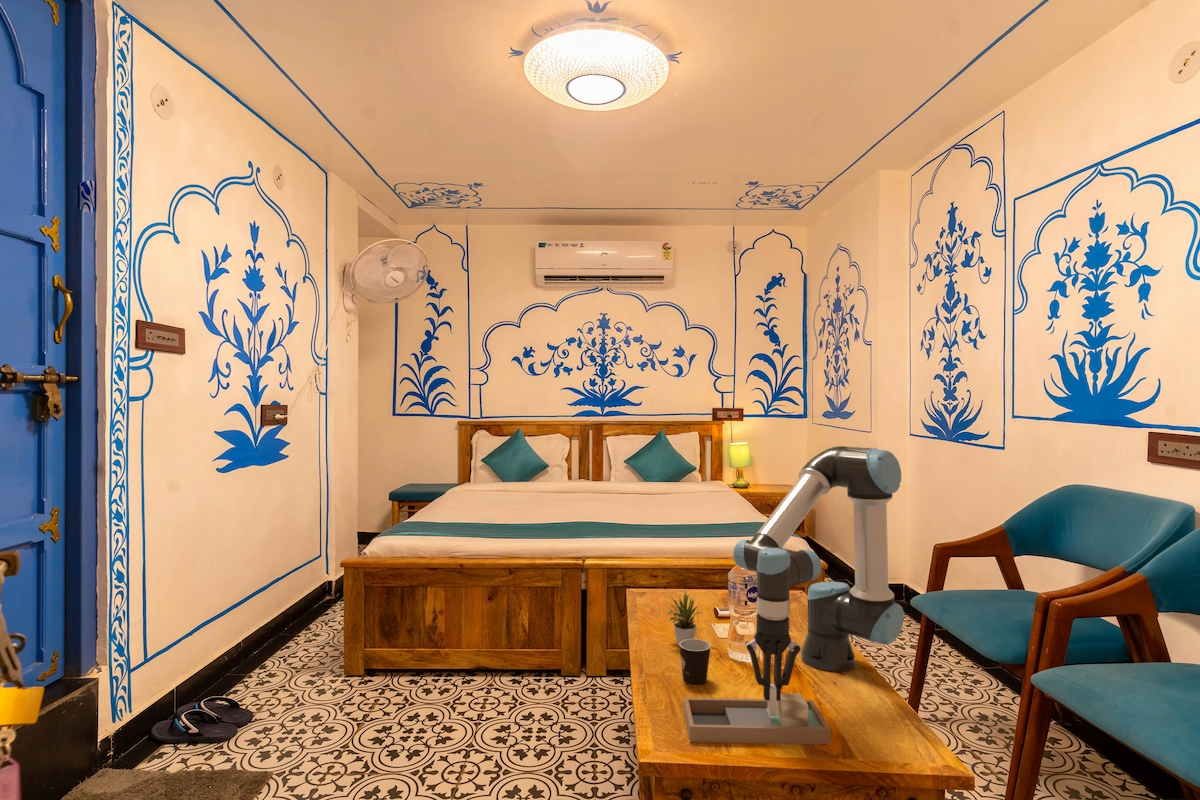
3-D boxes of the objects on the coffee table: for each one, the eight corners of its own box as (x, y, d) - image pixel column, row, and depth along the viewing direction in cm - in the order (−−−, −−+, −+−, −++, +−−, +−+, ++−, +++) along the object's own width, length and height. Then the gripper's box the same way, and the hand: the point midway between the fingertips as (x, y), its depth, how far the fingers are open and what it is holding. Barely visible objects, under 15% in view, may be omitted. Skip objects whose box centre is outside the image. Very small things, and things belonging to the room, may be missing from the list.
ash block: (800, 714, 156) (801, 693, 156) (808, 726, 150) (808, 705, 150) (776, 713, 156) (776, 693, 156) (782, 726, 150) (782, 705, 150)
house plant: (659, 634, 212) (659, 585, 212) (701, 635, 212) (702, 585, 212) (662, 651, 198) (662, 599, 198) (707, 652, 198) (707, 599, 198)
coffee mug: (709, 689, 174) (710, 652, 173) (677, 686, 175) (678, 649, 175) (711, 670, 185) (711, 636, 185) (681, 668, 187) (681, 633, 186)
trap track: (812, 713, 160) (812, 699, 160) (830, 744, 146) (831, 729, 146) (683, 711, 161) (683, 697, 161) (689, 741, 147) (689, 726, 147)
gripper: (796, 610, 157) (795, 706, 157) (742, 609, 157) (741, 704, 157) (804, 621, 149) (803, 721, 150) (748, 619, 150) (747, 720, 150)
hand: (771, 713), depth 154 cm, fingers closed
